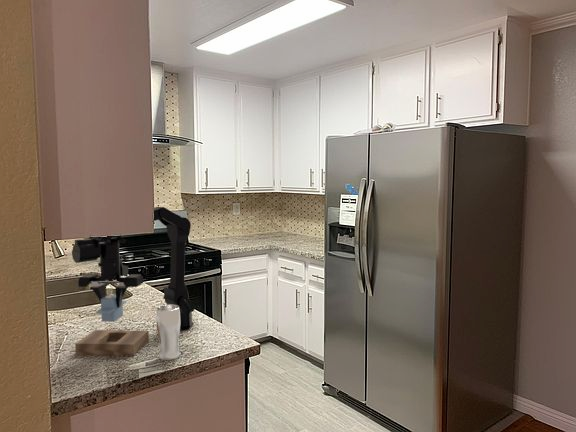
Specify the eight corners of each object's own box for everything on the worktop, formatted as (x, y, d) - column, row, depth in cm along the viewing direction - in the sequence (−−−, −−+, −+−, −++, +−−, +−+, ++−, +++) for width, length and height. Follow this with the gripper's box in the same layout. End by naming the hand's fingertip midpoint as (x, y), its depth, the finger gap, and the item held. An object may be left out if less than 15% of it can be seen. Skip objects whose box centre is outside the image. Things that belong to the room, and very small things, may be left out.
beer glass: (157, 362, 126) (155, 311, 125) (157, 353, 133) (156, 305, 132) (181, 359, 128) (180, 309, 127) (181, 350, 135) (179, 303, 133)
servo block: (126, 312, 143) (126, 289, 142) (109, 324, 131) (108, 299, 130) (115, 312, 143) (114, 289, 142) (96, 324, 131) (95, 299, 130)
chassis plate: (148, 341, 143) (148, 330, 143) (133, 355, 131) (133, 344, 131) (95, 340, 144) (95, 330, 144) (75, 354, 132) (75, 343, 132)
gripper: (149, 253, 143) (150, 300, 144) (93, 253, 144) (95, 300, 145) (135, 260, 132) (137, 310, 133) (75, 260, 133) (77, 310, 134)
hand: (112, 307), depth 136 cm, fingers closed on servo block, 4 cm apart
